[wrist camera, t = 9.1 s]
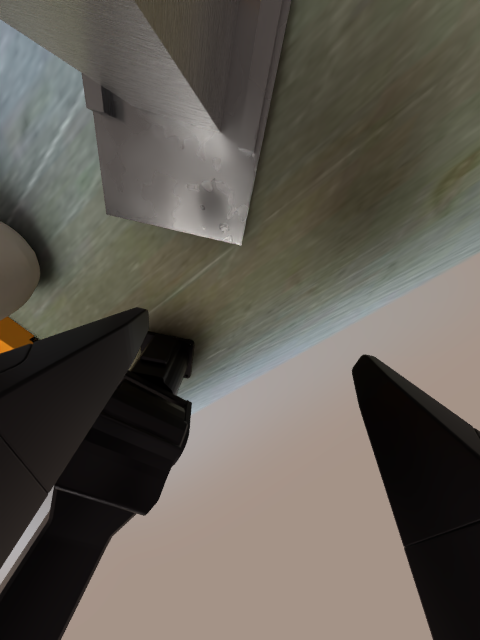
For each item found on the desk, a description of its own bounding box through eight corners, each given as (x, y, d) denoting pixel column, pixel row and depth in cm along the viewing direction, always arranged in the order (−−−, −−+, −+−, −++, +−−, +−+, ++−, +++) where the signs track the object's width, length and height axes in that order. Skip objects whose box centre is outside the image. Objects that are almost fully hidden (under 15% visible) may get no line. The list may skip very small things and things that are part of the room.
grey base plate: (242, 240, 19) (239, 253, 15) (120, 211, 18) (84, 218, 14) (310, -93, 10) (342, -256, 6) (82, -168, 10) (-30, -399, 6)
